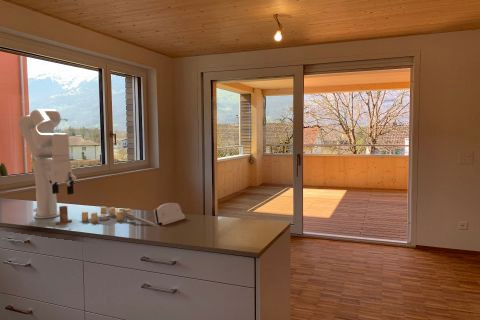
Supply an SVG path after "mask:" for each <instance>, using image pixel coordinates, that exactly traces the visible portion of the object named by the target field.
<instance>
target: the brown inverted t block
mask: <svg viewBox="0 0 480 320" xmlns="http://www.w3.org/2000/svg"><path fill="white" fill-rule="evenodd" d="M58 210H59V211H58V212H60V215H59V221H57V222H55V225H57V226H62V225H66V224H70V223H72V222H73V220H72V219H69V218H68V217H69V216H68V213H69V212H68V205H67V206H66V205H61V206H59V208H58Z"/></svg>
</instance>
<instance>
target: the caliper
mask: <svg viewBox="0 0 480 320" xmlns="http://www.w3.org/2000/svg"><path fill="white" fill-rule="evenodd" d="M124 217H125V221H124ZM128 218H129V219H128ZM127 219H128V220H131V221H136V222H139V223H142V224H145V225H148V226H150V227H151V226H153V227H156V226H157V224H156V223H154V222H152V221H150V220H147V219H144V218H141V217H139V216H135V214H132V213H131V214H130V213H128V212H127V210H126V211H125V210H124V211H123V212H122V222H127V221H128V220H127Z"/></svg>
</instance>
